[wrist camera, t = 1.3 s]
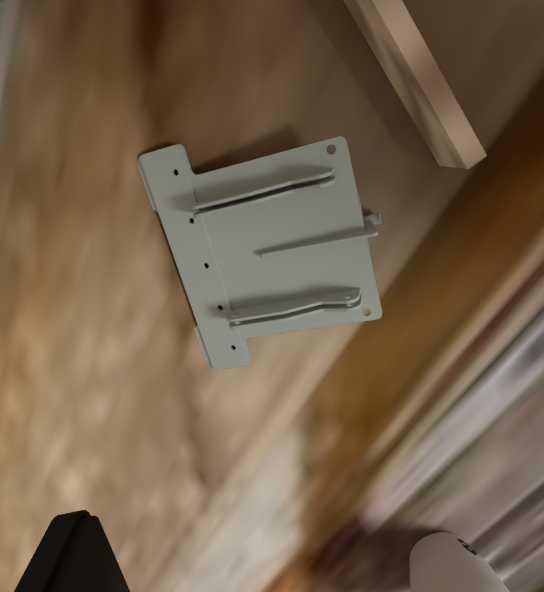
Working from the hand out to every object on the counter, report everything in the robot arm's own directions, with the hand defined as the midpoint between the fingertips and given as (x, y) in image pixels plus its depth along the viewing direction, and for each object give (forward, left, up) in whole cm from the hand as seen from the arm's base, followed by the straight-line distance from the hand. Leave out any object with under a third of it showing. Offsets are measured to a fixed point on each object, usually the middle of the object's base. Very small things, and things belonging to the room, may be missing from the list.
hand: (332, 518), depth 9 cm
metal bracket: (+1, 0, -23) cm, 23 cm away
